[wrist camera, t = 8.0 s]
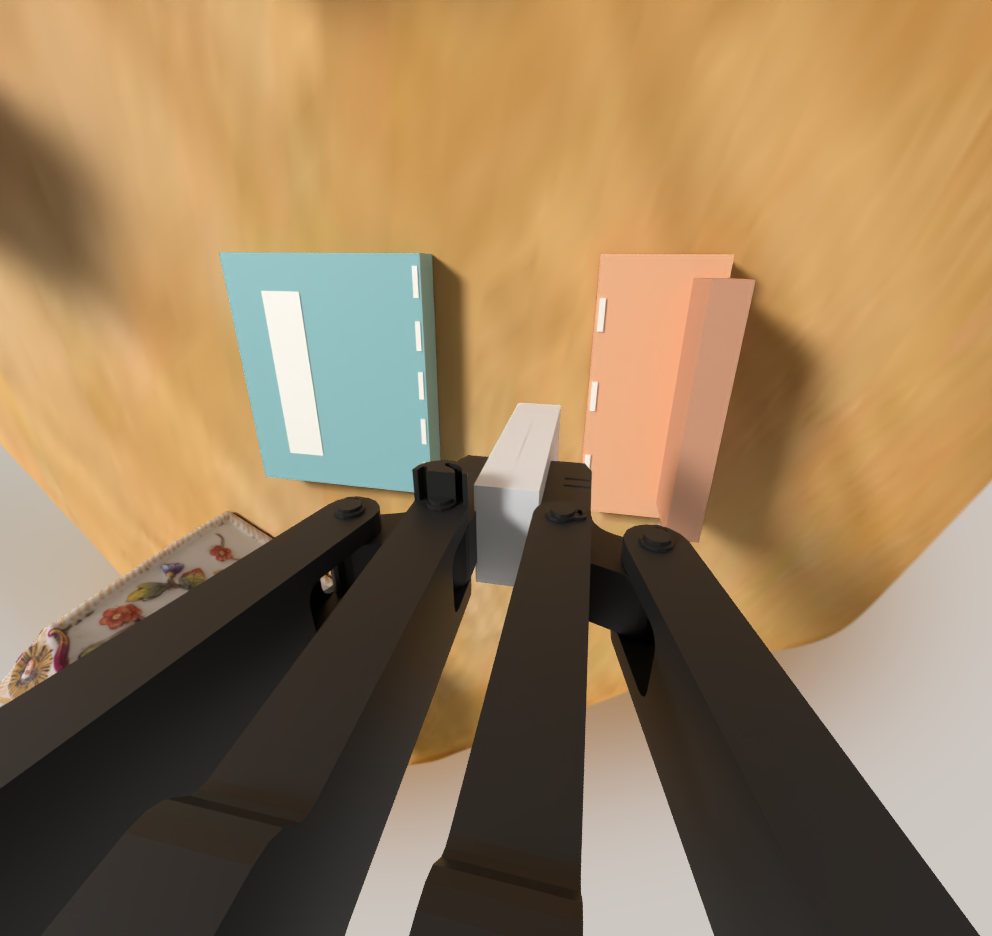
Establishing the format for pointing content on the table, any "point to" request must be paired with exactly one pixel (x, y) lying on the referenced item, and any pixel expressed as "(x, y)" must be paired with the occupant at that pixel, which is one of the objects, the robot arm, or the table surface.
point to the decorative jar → (135, 599)
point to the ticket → (338, 363)
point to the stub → (662, 382)
